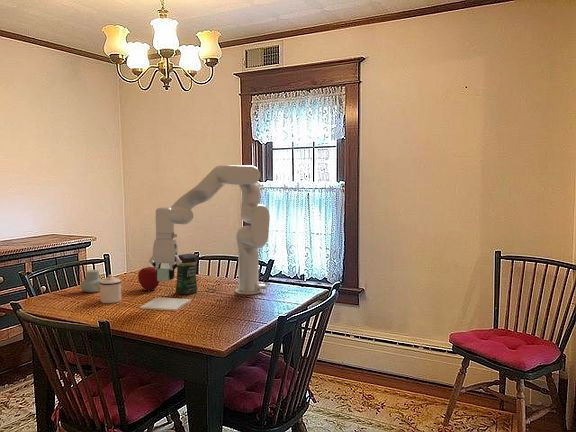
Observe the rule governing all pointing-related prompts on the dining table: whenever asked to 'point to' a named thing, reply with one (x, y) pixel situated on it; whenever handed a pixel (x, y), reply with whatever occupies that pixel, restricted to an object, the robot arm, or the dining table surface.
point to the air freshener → (91, 281)
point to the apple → (148, 278)
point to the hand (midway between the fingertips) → (165, 278)
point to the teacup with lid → (110, 290)
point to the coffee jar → (186, 274)
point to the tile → (165, 304)
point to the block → (163, 274)
